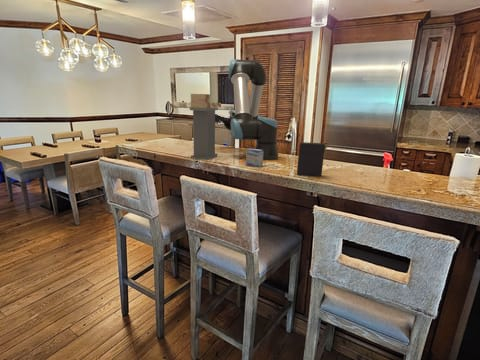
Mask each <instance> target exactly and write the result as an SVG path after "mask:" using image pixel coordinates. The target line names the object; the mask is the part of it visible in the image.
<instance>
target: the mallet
mask: <svg viewBox="0 0 480 360" xmlns="http://www.w3.org/2000/svg"><path fill="white" fill-rule="evenodd" d="M190 107H194V108H210V107H217V108H222V102H211V94H209V93H206V94H205V93H190Z"/></svg>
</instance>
